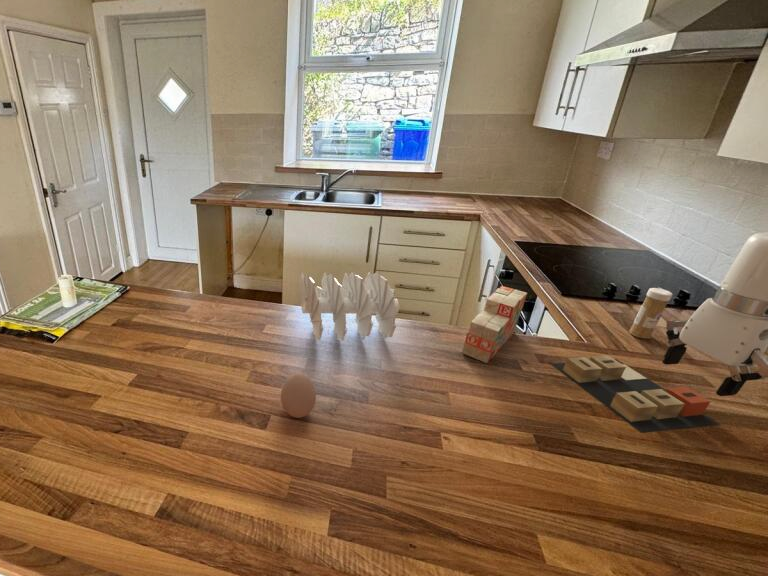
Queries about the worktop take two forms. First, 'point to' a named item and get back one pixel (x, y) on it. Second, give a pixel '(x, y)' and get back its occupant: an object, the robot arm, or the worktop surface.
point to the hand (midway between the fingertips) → (695, 378)
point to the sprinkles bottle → (650, 312)
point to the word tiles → (624, 402)
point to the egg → (298, 395)
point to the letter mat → (639, 383)
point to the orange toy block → (689, 401)
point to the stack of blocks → (494, 324)
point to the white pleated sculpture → (350, 303)
